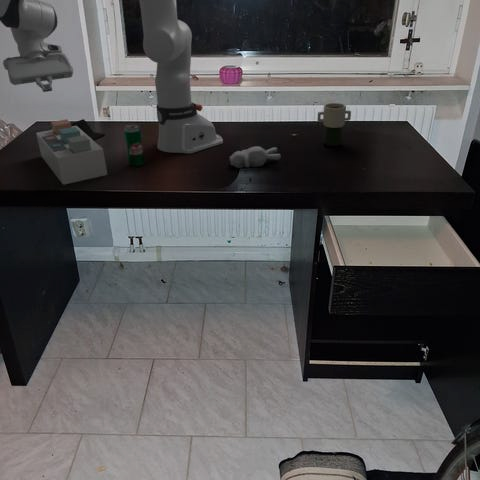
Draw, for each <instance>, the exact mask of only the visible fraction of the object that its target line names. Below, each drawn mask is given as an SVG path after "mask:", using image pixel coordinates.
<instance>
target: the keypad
mask: <svg viewBox="0 0 480 480" xmlns="http://www.w3.org/2000/svg"><path fill="white" fill-rule="evenodd" d="M72 127H76V128H77V129H78V130H79V131H80V135H81V136H82V135H85V136H86V137H87V138H88V139H89V140H90V145H91V150H89V151H84V152H79V153H74V154H73V153H72V152H71V151H70V149H69V144H64V143H63V142H62V141H61V138H60V135H57V136H56V135H55V134H54V133H53V129H49V130H45V131H40V132H36V133H35V135H36V138H37V143H38V148H39V151H40V155H41V156H40V157H41V158H42V159H43V160H44V161H45V163H46V164H47V165H48V167H49V168H50V169H51V171H52V172H53V173H54V175H55V176H56V177H57V179H58V180H59V182H61V184H62V185H67V184H73V183H77V182H82V181H85V180H91V179H95V178H99V177H104V176H107V175H108V171H107V164H106V159H105V153H104V148H102V146H101V145H100V144H98V143H97V142H96V141H93V140H92V139H91V138H90V137H89V136H88V135H87V134H85V133H84V132H83V131H82V130H81V129H80V128H79V127H77V126H72Z"/></svg>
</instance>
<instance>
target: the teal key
mask: <svg viewBox="0 0 480 480" xmlns="http://www.w3.org/2000/svg"><path fill="white" fill-rule="evenodd" d="M59 133H60V138H61V141H62V142H63V143H64V144H68V139H67V138H72V137H77V136H81V135H80V131H79V130H78V129H77V128H76V127H72V128H66V129H60V130H59Z"/></svg>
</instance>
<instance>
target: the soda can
mask: <svg viewBox="0 0 480 480" xmlns="http://www.w3.org/2000/svg"><path fill="white" fill-rule="evenodd" d="M123 135H124V140H125V148H126V155H127V160H128V165H129V166H131V167H133V168H135V167H137V168H138V167H142V166H143V165H145V163H146V159H145V151H144V144H143V143H144V142H143V136H142V129H141V127H140V125H138V124H129V125H126V126H124V129H123Z"/></svg>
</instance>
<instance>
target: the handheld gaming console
mask: <svg viewBox="0 0 480 480" xmlns="http://www.w3.org/2000/svg"><path fill="white" fill-rule="evenodd" d="M71 126H77V127H79V128H80V129H81V130H82V131H83V132H84V133H85V134H87V135H88V136H89V137H90V138H91V139H92V140H93V141H94V142H96V141H97V140H99V139H102V138H103V137H105V136H106V134H105V133H102V132H96V131H95V132H94V130H93V129H92V128H91V127H90V125H89V123H87V121H86V120H85V119H84V118H83V119H80V120H78V121H75V122H73V123H71Z"/></svg>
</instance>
